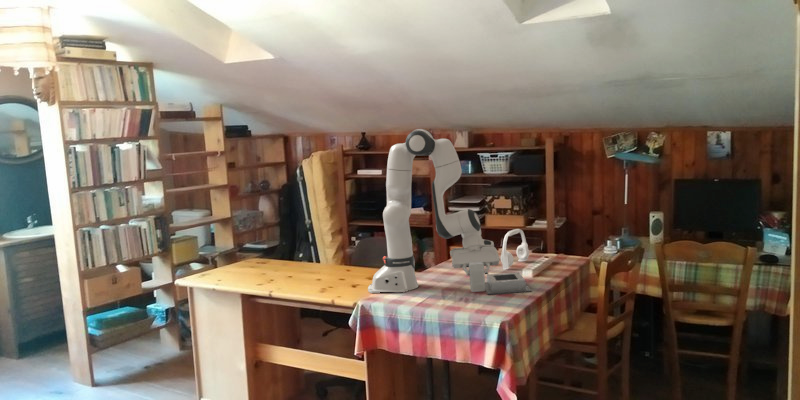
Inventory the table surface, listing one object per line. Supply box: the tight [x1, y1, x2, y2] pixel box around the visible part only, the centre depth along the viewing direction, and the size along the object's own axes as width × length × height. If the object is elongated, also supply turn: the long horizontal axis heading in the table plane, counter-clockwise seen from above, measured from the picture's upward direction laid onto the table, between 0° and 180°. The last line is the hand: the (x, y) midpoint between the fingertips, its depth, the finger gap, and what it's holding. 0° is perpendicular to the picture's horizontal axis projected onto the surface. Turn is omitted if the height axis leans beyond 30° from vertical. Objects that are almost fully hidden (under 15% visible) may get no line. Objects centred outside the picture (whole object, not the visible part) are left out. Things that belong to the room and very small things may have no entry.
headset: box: [500, 228, 530, 271], centre depth 312 cm, size 20×7×18 cm, turn 140°
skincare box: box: [468, 262, 486, 293], centre depth 274 cm, size 6×4×12 cm
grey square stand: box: [485, 271, 532, 296], centre depth 275 cm, size 18×18×5 cm
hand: (477, 274), depth 273 cm, fingers open, 6 cm apart
